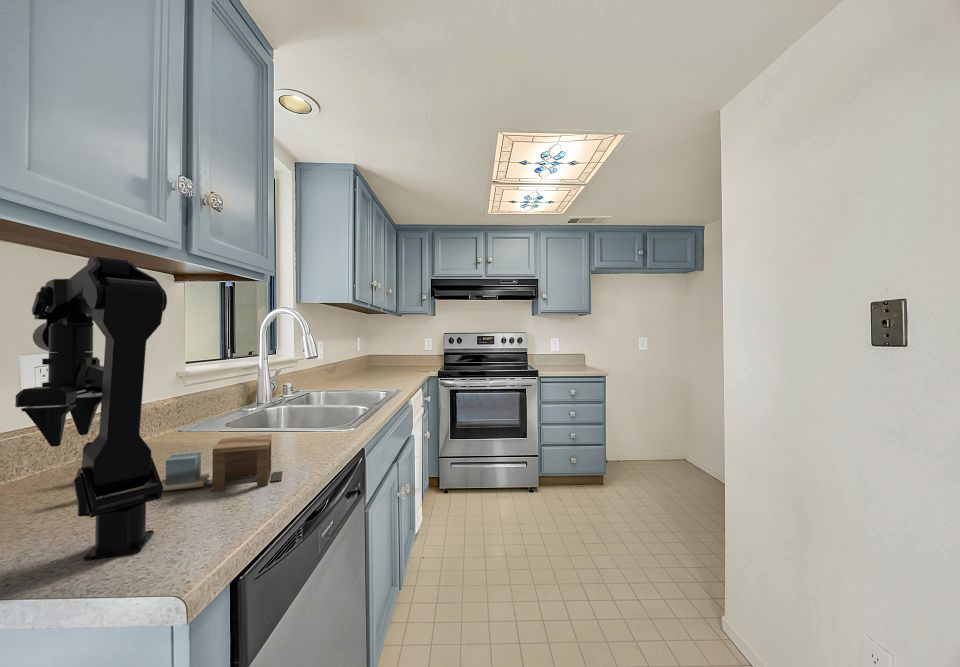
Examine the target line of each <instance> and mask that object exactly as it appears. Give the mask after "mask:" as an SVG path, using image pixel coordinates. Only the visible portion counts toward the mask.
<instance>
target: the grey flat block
mask: <svg viewBox="0 0 960 667" xmlns="http://www.w3.org/2000/svg"><path fill="white" fill-rule="evenodd" d="M283 474H284V472H283V471H282V470H280V471H273V472H272V475H271V478H270V483H277V482H278V483H279V482H282V477H283Z"/></svg>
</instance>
